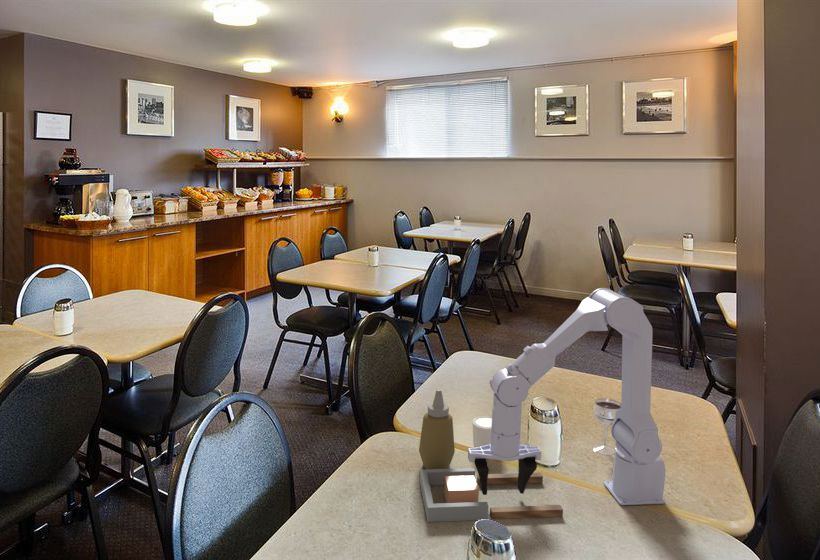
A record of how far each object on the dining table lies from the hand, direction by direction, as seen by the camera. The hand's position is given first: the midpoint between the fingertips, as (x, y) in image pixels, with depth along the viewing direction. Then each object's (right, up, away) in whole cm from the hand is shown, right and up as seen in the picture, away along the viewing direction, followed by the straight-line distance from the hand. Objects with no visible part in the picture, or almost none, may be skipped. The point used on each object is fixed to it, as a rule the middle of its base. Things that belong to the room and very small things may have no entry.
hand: (502, 491), depth 106 cm
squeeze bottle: (-13, +1, +12) cm, 18 cm away
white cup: (-1, +2, +20) cm, 20 cm away
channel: (+3, -2, +1) cm, 4 cm away
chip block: (-9, -2, 0) cm, 9 cm away
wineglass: (+29, +1, +21) cm, 35 cm away
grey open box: (-10, -1, -1) cm, 10 cm away
